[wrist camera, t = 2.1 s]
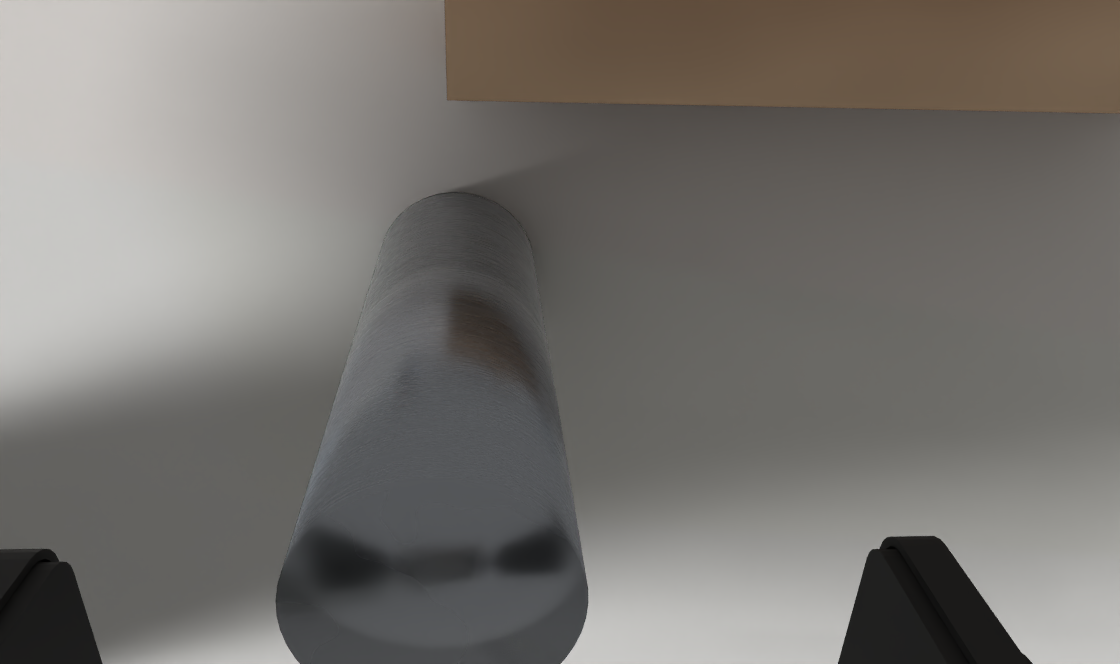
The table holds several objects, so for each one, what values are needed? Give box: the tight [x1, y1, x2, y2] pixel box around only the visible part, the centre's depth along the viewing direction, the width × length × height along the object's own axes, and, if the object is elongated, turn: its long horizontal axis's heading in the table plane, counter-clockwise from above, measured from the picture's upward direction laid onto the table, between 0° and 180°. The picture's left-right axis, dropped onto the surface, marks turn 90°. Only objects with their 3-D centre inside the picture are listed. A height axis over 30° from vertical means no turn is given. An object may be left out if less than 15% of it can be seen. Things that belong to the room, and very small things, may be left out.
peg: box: [276, 193, 588, 664], centre depth 16 cm, size 4×4×12 cm
